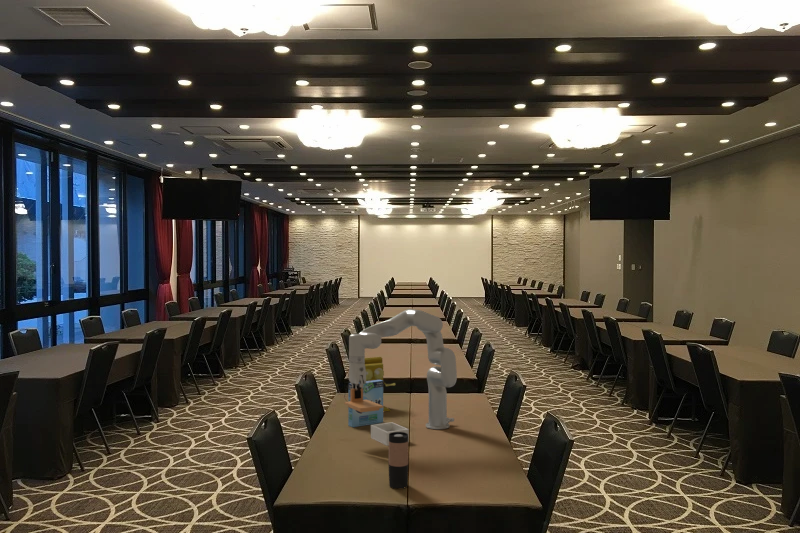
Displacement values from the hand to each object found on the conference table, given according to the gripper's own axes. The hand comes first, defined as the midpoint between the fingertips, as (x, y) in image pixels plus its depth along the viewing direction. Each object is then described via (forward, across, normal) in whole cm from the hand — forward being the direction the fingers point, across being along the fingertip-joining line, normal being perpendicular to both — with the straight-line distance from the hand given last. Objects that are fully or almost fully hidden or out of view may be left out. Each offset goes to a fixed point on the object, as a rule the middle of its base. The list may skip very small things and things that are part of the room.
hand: (356, 397), depth 313 cm
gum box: (+22, +29, -20) cm, 41 cm away
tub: (+21, -7, -14) cm, 27 cm away
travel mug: (+22, -63, +14) cm, 68 cm away
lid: (+4, -7, 0) cm, 8 cm away
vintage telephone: (+22, +56, -38) cm, 71 cm away
